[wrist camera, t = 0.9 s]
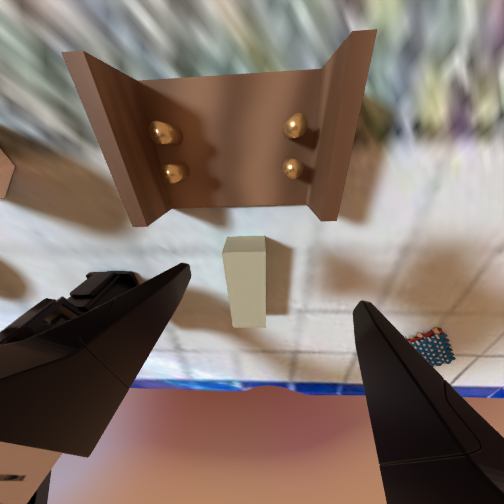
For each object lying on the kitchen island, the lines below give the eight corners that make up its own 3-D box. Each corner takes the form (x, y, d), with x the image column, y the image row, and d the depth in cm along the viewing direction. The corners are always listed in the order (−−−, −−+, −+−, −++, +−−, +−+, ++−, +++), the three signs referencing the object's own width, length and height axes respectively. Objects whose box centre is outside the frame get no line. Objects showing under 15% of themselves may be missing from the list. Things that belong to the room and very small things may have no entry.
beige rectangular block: (264, 305, 28) (265, 327, 24) (235, 305, 28) (232, 327, 24) (264, 235, 22) (265, 251, 18) (227, 235, 22) (222, 252, 18)
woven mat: (370, 344, 33) (377, 355, 31) (436, 322, 29) (447, 333, 27) (388, 368, 37) (395, 380, 35) (447, 351, 33) (458, 363, 31)
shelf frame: (332, 72, 14) (377, 29, 9) (315, 200, 19) (336, 220, 14) (130, 85, 15) (61, 52, 9) (165, 206, 20) (132, 226, 15)
